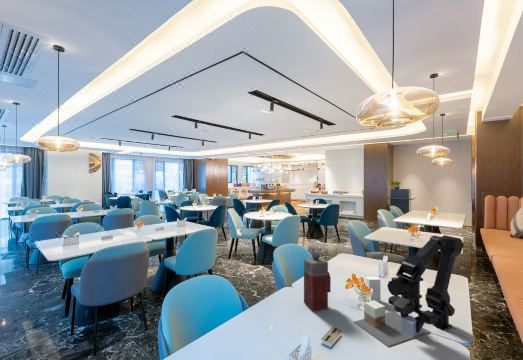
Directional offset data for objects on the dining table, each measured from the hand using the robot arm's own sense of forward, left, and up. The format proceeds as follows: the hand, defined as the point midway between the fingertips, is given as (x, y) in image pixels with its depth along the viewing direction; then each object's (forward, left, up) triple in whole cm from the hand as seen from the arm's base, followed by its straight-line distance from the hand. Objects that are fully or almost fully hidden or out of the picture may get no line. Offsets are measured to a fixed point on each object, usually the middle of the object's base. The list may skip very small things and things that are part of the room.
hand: (411, 328), depth 106 cm
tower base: (+9, -11, -1) cm, 14 cm away
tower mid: (+9, -11, +3) cm, 15 cm away
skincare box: (-7, -27, -2) cm, 28 cm away
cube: (0, 0, -1) cm, 1 cm away
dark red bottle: (+23, -34, -2) cm, 41 cm away
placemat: (+5, -6, -1) cm, 8 cm away
